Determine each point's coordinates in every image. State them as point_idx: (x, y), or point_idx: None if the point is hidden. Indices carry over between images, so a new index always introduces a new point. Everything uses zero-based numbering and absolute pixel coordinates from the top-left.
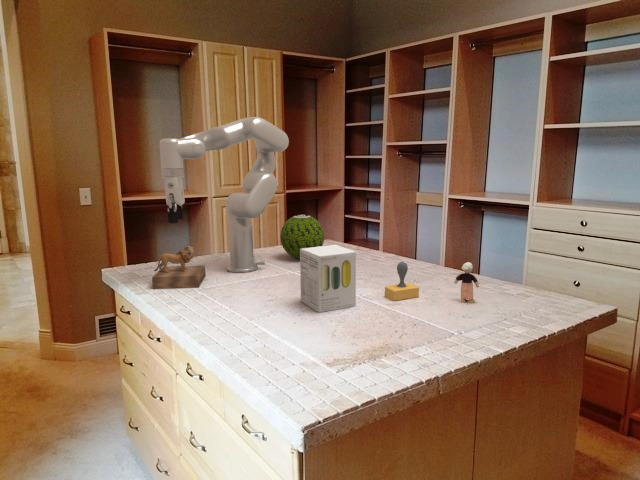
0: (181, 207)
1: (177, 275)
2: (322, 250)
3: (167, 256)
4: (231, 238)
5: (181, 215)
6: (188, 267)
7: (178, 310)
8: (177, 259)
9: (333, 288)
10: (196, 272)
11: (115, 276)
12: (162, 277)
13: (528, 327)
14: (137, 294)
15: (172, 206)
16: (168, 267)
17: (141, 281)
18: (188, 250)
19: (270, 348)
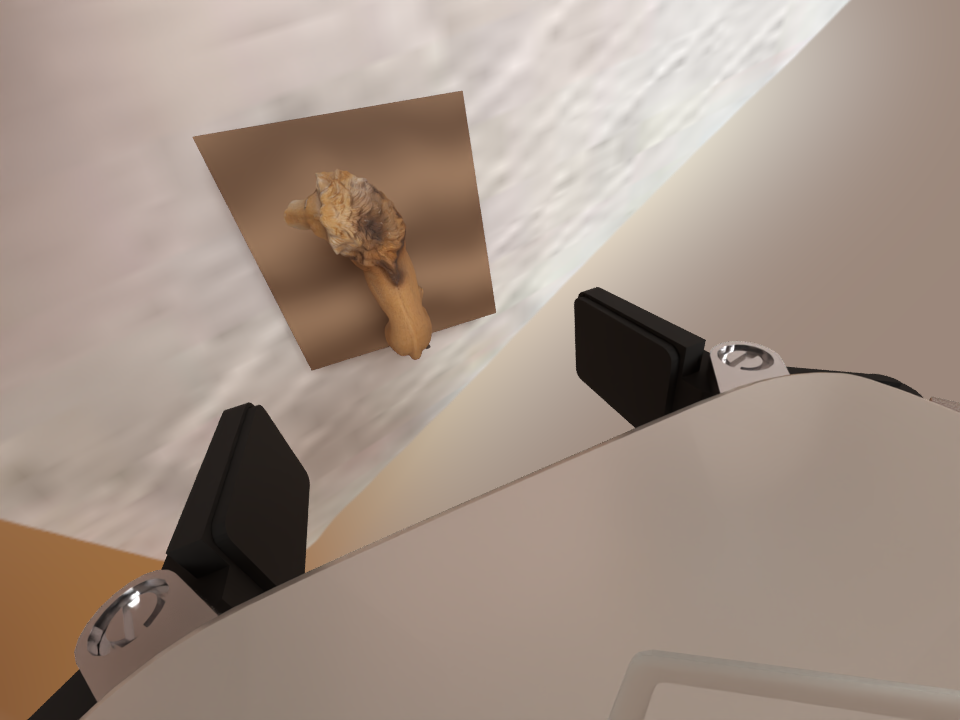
0: (182, 583)
1: (463, 216)
2: None
3: (426, 317)
4: None
5: (256, 444)
6: (291, 231)
7: (702, 82)
8: (410, 259)
9: None
10: (393, 130)
11: (346, 499)
12: (488, 273)
13: None
14: (535, 312)
15: (902, 387)
16: (322, 336)
17: (389, 390)
18: (378, 201)
19: None
